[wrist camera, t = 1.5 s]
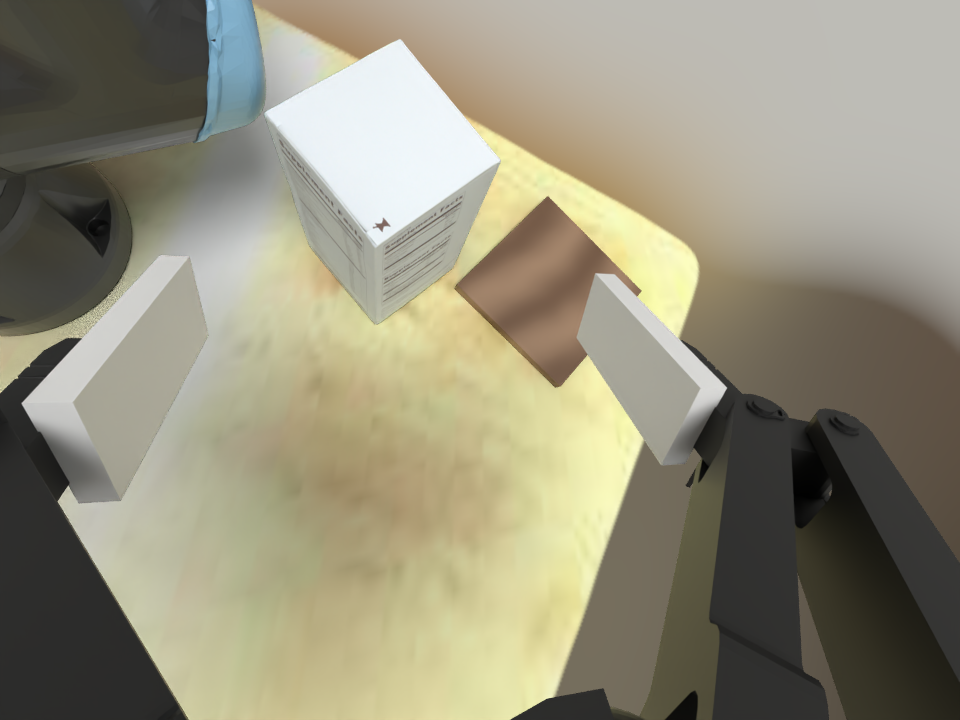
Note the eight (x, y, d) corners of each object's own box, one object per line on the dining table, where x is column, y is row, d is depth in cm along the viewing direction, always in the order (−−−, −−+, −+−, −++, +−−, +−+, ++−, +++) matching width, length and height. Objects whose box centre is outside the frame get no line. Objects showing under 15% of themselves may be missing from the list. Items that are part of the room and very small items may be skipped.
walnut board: (454, 288, 42) (456, 284, 40) (543, 202, 45) (547, 196, 44) (555, 387, 42) (560, 386, 41) (634, 294, 46) (641, 291, 45)
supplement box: (456, 268, 42) (509, 163, 26) (376, 328, 39) (380, 254, 23) (389, 187, 42) (400, 30, 25) (304, 242, 39) (257, 107, 23)
